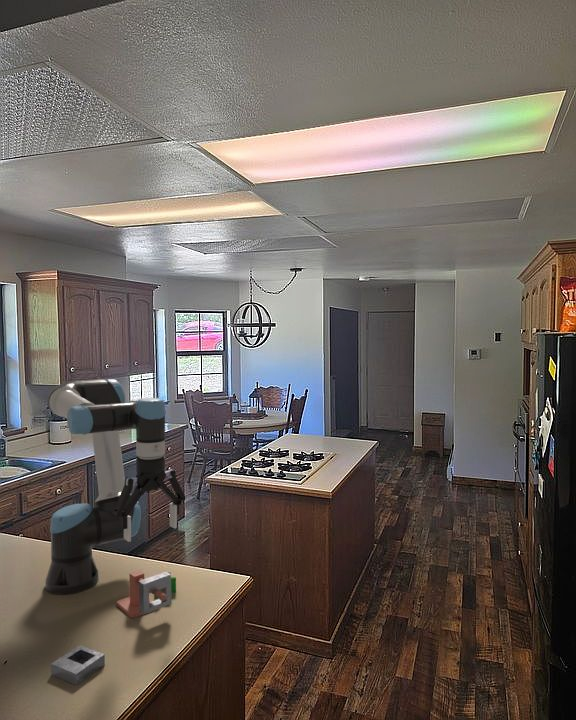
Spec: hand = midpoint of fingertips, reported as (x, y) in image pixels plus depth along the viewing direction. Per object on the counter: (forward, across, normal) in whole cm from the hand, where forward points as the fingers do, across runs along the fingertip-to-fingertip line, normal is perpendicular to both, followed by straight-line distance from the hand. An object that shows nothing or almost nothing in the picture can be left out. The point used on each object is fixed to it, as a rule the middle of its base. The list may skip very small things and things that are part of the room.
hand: (151, 533), depth 141 cm
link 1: (+22, -24, -11) cm, 34 cm away
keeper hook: (+23, -1, +1) cm, 23 cm away
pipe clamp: (+23, +8, +6) cm, 26 cm away
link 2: (+19, -1, -4) cm, 19 cm away
